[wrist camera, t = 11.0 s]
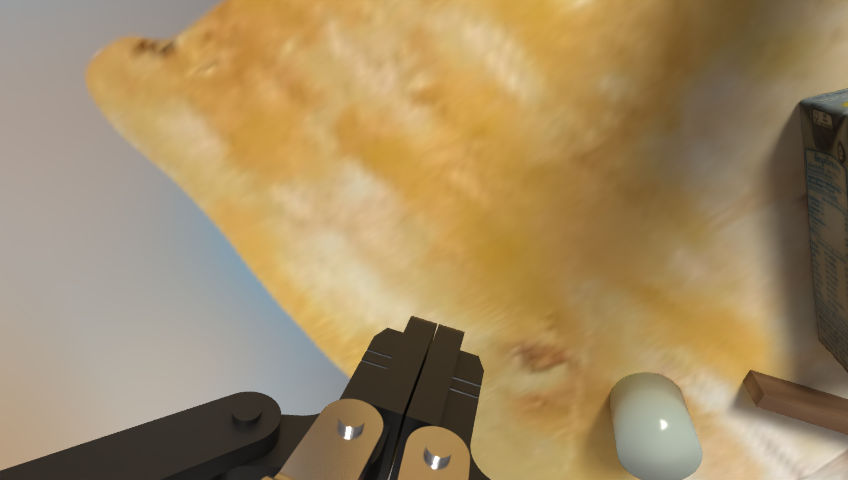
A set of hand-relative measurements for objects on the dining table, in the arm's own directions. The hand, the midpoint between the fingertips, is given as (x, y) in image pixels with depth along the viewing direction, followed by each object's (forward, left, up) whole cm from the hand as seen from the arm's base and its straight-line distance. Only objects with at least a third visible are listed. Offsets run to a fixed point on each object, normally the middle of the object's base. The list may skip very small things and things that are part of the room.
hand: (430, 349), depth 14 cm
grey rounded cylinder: (+19, +18, -27) cm, 38 cm away
